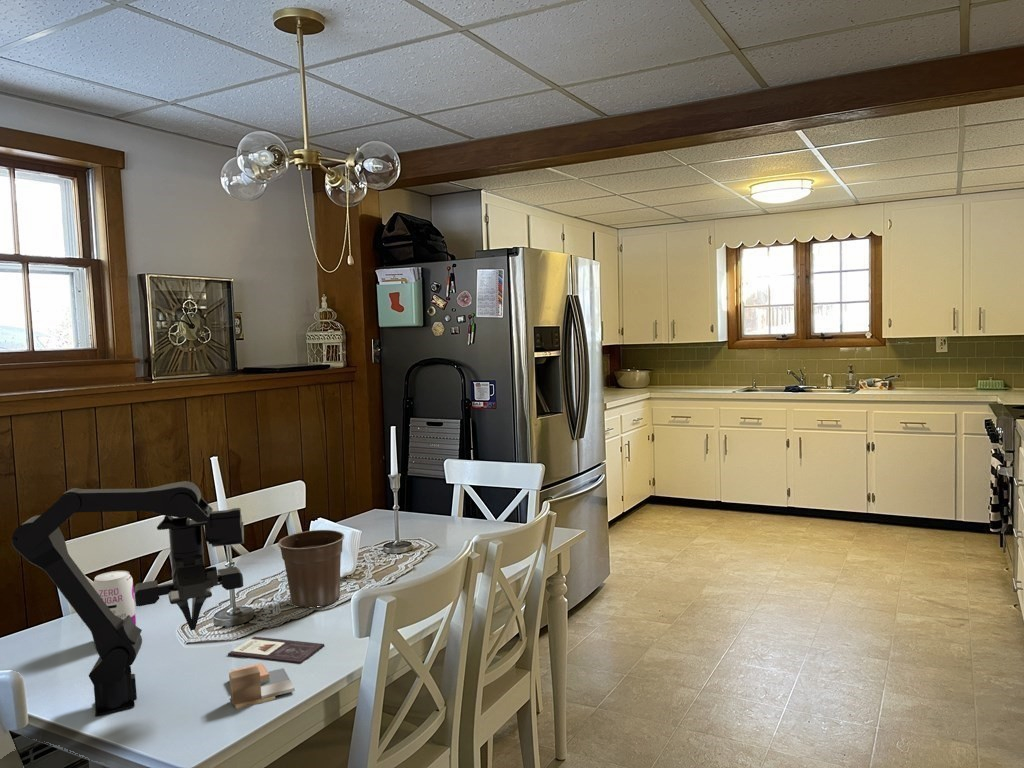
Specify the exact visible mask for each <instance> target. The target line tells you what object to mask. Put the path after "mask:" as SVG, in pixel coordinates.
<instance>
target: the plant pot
mask: <svg viewBox="0 0 1024 768" xmlns="http://www.w3.org/2000/svg"><path fill="white" fill-rule="evenodd" d="M344 539H345V534H344V533H343V532H341V531H338V530H334V529H333V530H332V529H316V530H314V529H313V530H306V531H302V532H301V531H300V532H296V533H293V534H290V535H287V536H284V537H282V538H281V539H279V541H278V542H277V546H278V547H279V548H280V554H281V558H282V560H283V562H284V568H285V572H286V578H287V580H286V581H287V584H288V591H289V596H290V602H291V605H292V604H293V605H292V606H294V605H295V606H298V607H297V608H299V607H302V608H304V607H305V608H307V607H316V608H318V607H317V606H323V607H325V606H324V605H326V606H329V605H332V604H333V603H335V602H336V601H337V600H339V599H340V597H341V563H342V562H341V560H342V553H343V540H344ZM328 604H329V605H328ZM295 606H294V607H295Z"/></svg>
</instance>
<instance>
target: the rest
mask: <svg viewBox="0 0 1024 768" xmlns="http://www.w3.org/2000/svg"><path fill="white" fill-rule="evenodd" d="M272 700H276V696H273V697H269V698H265V699H262V698H260V699H256V700H252V701H248V702H244V703H240V704H236V705H234V707H235V709H236V710H237V709H241V707H242V708H245V707H249V706H253V705H257V704H260V703H265V702H269V701H272Z"/></svg>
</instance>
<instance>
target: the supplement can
mask: <svg viewBox="0 0 1024 768" xmlns="http://www.w3.org/2000/svg"><path fill="white" fill-rule="evenodd" d="M133 580H134V579H133V577H132V575H131V574H130V571H128V570H115V571H113V570H112V571H108V572H104V573H101V574H97V575H96V576H95V577H94V580H93V582H92V583H91V585H92V586H93V588H94V589H95V590H96V592H97V593H98V594H99V596H100V597H101V598H102V600H103V601H104V602H105V604H106V605H107V606H108V608H109V609H110V610H111V612H112V613H113V614H114V615H116V616H117V617H119V618H121V619H124V618H126V617H127V616H128V615H130V616H131V618H132V620H133V622H134V624H135V625H136V626H137V619H136V617H137V616H136V602H135V593H134V581H133Z"/></svg>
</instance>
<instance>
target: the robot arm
mask: <svg viewBox="0 0 1024 768" xmlns="http://www.w3.org/2000/svg"><path fill="white" fill-rule="evenodd" d="M107 512H108V513H109V512H112V513H114V512H147V513H148V512H149V513H153V514H156V515H159V516H164V518H163V520H161V521H160V522H159V524H158V525H157V526H156V530H158V531H161V530H162V531H163V530H168V534H169V551H170V563H171V564H170V565H171V578H172V582H171V583H165V584H160V585H159V584H158V580H157V579H156V580H151V581H149V580H148V581H145V582H140V583H139V582H138V583H136V584H135V586H133V590H134V603H135V607H142V606H149V605H154V604H156V603H158V601H159V599H160V596H167V595H168V600H169V603H170V604H171V605H177V606H178V608H179V609H180V611H181V613H182V614H183V616H184V619H185V621H186V623H187V625H188V627H189V630H190V631H195V630H196V628H197V624H198V621H199V618H200V617H199V616H200V613H201V610H202V607H203V606H204V603H205V602H206V600H207V599H208V598H211V597H212V596H213V593H212V589H213V588H214V587H216V586H220V585H221V587H222V588H224V590H226V591H230V590H235V589H240V588H241V589H242V588H243V587H244V577H243V574H242V572H241V570H240V568H238V567H237V566H233V567H232V566H231V567H226V568H219V569H217V566H211V567H205V555H204V541H203V539H204V538H205V543H208V545H211V546H212V548H214V547H224V546H231V545H242V544H245V527H244V521H243V516H242V509H241V508H240V507H234V508H231V509H226V510H225V509H223V510H215V511H214V510H213V508H212V507H211V506H210V505H209V503H207V501H206V500H205V499H204V498H203V497H202V493H201V490H200V488H199V487H198V485H196V484H195V483H194V482H192V481H188V480H187V481H185V480H184V481H177V482H171V483H166V484H163V485H159V486H155V487H148V488H147V487H146V488H87V489H85V488H84V489H83V488H79V487H74V488H70V489H67V491H65V492H64V493H63V494H62V495H60V497H59V499H57V501H56V502H55V503H53V504H52V505H51V506H50V507H49V508H48V509H46V510H45V511H44V512H43V513H42V514H39V515H34V516H32V517H30V518H29V519H27V520H25V521H24V522H23V523H22V524H21V525H19V526H18V527H17V528H15V530H14V532H13V533H12V537H11V545H12V547H13V549H14V550H15V551H16V552H17V553H19V554H20V556H22V557H23V558H24V559H25V560H26V561H27V562H29V563H30V564H32V565H33V566H34V565H35V567H38V568H40V569H41V570H42V571H44V572H45V573H46V575H47V576H48V577H49V578H50V580H51V581H52V583H53V584H54V585H55V587H56V588H57V589H58V590H59V592H60V593H61V594H62V596H63V597H64V598H65V599H66V601H67V602H68V603H69V605H70V606H71V607H72V609H73V611H75V612H76V614H77V616H79V618H80V619H81V621H82V622H83V623H84V624H85V625H86V627H87V628H88V630H89V631H90V633H91V635H92V639H93V643H94V647H95V651H96V652H97V655H98V659H97V661H96V662H95V664H94V665H93V667H92V669H91V670H90V672H89V674H88V677H89V680H90V682H91V683H92V686H93V694H94V717H99V716H104V715H107V714H111V713H117V712H120V711H125V710H130V709H133V708H134V707H136V706H135V705H136V704H135V701H136V700H137V699H138V697H137V683H136V673H132V668H131V667H132V665H133V664H134V662H135V660H136V659H137V656H138V654H139V652H140V650H141V648H142V644H143V637H142V636H141V633H142V631H143V629H141V628H140V627H138V626H137V624H136V625H135V624H134V622H133V620H132V618H131V616H130V615H128V616H127V617H126V618H124V619H121V618H119V617H117V616H116V615H114V614H113V613H112V612H111V610H110V609H109V608H108V606H107V605H106V604H105V602H104V601H103V600H102V598H101V597H100V596H99V594H98V593H97V592H96V590H95V589H94V588H93V586H92V583H91V582H90V581H89V580H88V578H87V577H86V575H85V574H84V573H83V572H82V570H81V569H80V567H79V566H78V565H77V563H76V562H75V561H74V560H73V559H72V557H71V555H70V554H69V551H68V547H67V544H66V541H65V537H64V535H63V532H62V531H61V528H60V527H61V526H62V525H64V524H65V523H66V522H67V521H68V520H69V519H71V517H73V515H74V514H76V513H107ZM203 526H204V538H203V528H202V527H203ZM190 599H192V600H191V611H190V606H189V600H190Z"/></svg>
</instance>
